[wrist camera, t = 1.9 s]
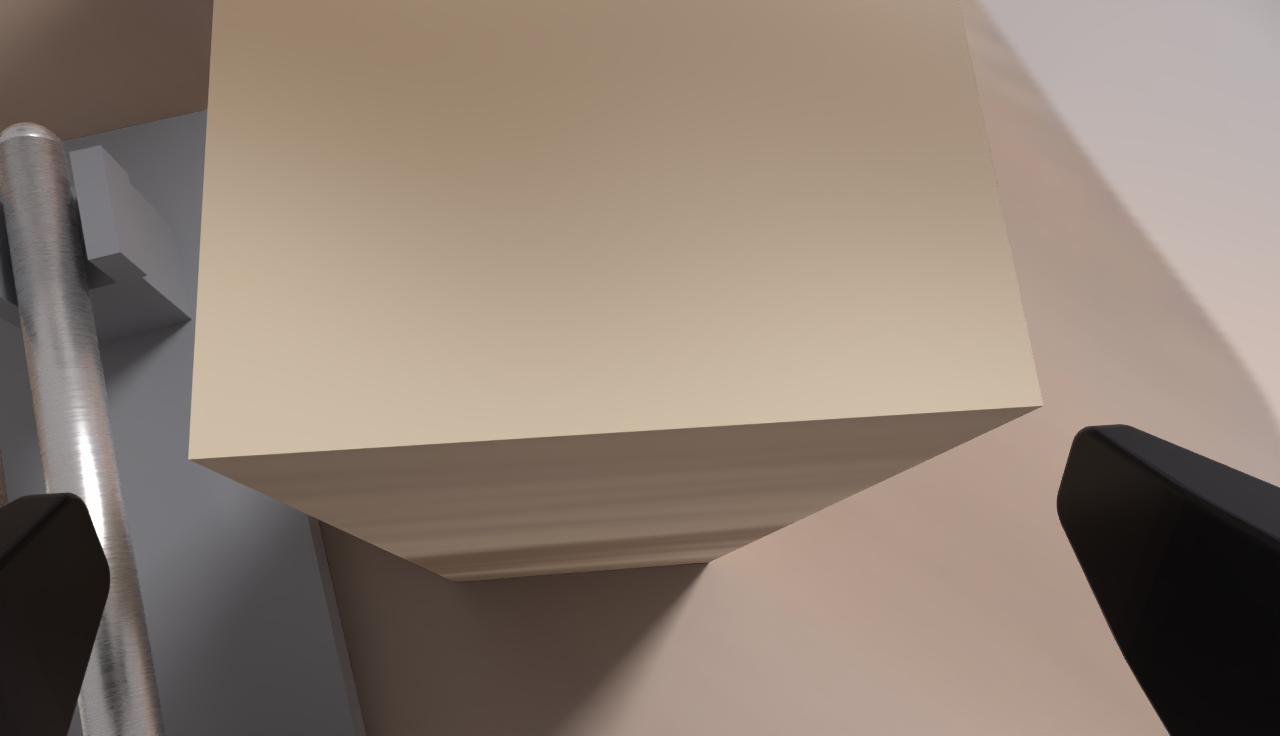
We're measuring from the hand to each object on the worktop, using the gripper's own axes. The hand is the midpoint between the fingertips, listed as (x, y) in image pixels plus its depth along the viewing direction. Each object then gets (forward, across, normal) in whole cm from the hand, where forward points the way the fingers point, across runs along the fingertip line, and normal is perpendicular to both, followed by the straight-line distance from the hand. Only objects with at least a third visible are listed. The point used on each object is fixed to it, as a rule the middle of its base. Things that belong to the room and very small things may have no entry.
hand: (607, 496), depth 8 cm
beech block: (+9, 0, +5) cm, 10 cm away
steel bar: (+5, +7, +4) cm, 10 cm away
